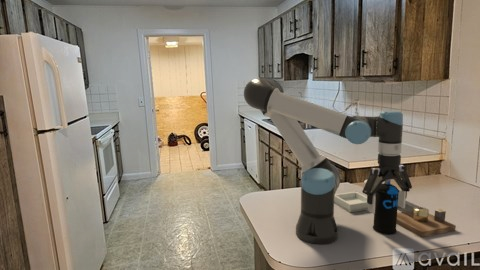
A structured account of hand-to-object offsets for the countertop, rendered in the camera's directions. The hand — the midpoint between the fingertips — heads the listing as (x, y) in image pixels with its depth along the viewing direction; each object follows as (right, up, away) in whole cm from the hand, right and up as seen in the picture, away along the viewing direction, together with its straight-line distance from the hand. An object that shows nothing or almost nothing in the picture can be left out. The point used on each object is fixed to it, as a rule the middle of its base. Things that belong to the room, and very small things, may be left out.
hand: (386, 209), depth 114 cm
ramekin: (+15, -2, +42) cm, 44 cm away
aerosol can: (0, -8, +1) cm, 8 cm away
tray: (-3, -4, +25) cm, 26 cm away
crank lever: (+14, -4, +10) cm, 17 cm away
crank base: (+15, -7, +5) cm, 18 cm away
